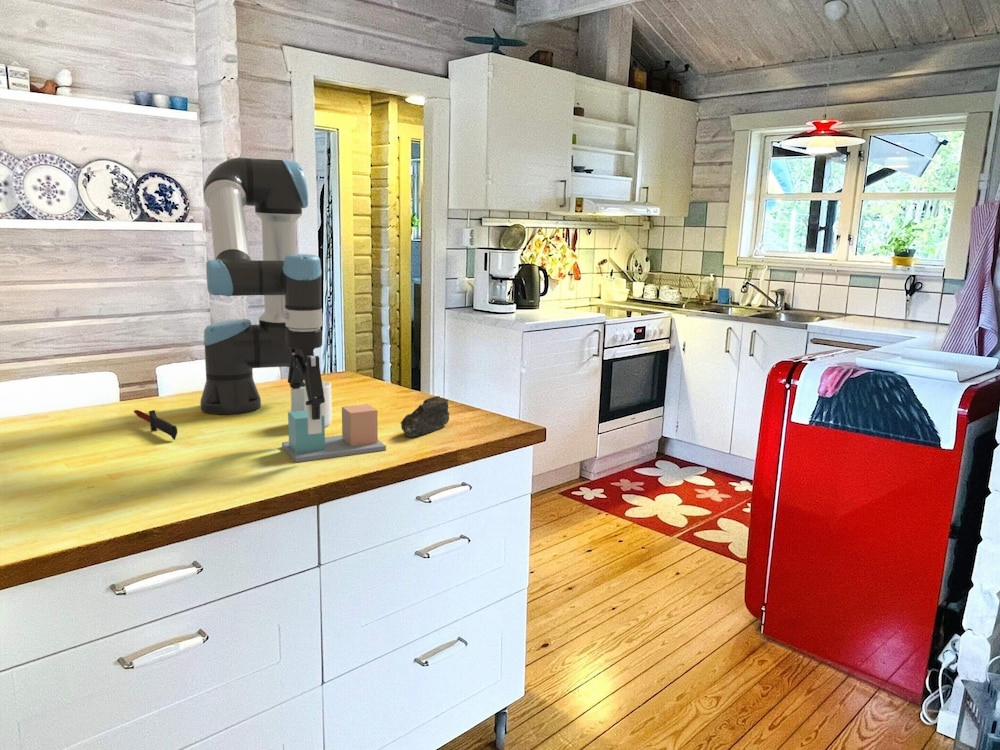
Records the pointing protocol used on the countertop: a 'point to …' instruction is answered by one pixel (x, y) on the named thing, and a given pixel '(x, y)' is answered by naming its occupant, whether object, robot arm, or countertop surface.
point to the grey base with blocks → (347, 436)
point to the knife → (158, 423)
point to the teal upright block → (304, 433)
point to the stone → (426, 417)
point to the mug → (326, 406)
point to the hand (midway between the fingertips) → (306, 424)
